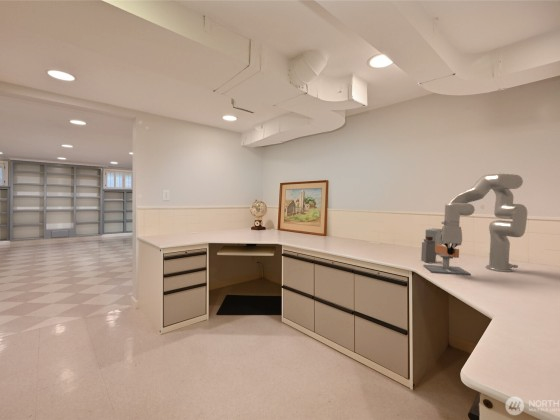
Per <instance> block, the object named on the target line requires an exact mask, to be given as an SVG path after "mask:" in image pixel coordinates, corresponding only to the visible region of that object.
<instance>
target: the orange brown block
mask: <svg viewBox="0 0 560 420" xmlns="http://www.w3.org/2000/svg"><path fill="white" fill-rule="evenodd" d="M435 252H436V253H438V254H439V257H440V258H442V259H443V258H450V259H452V260H453V259H455V258H456V259H457V258H458V259H459V258H460V249H459V248H456V247H455V248H454V253H453V255H449V254H448V253H447V247H446V246H445V245H443V244H442V245H435Z"/></svg>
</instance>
